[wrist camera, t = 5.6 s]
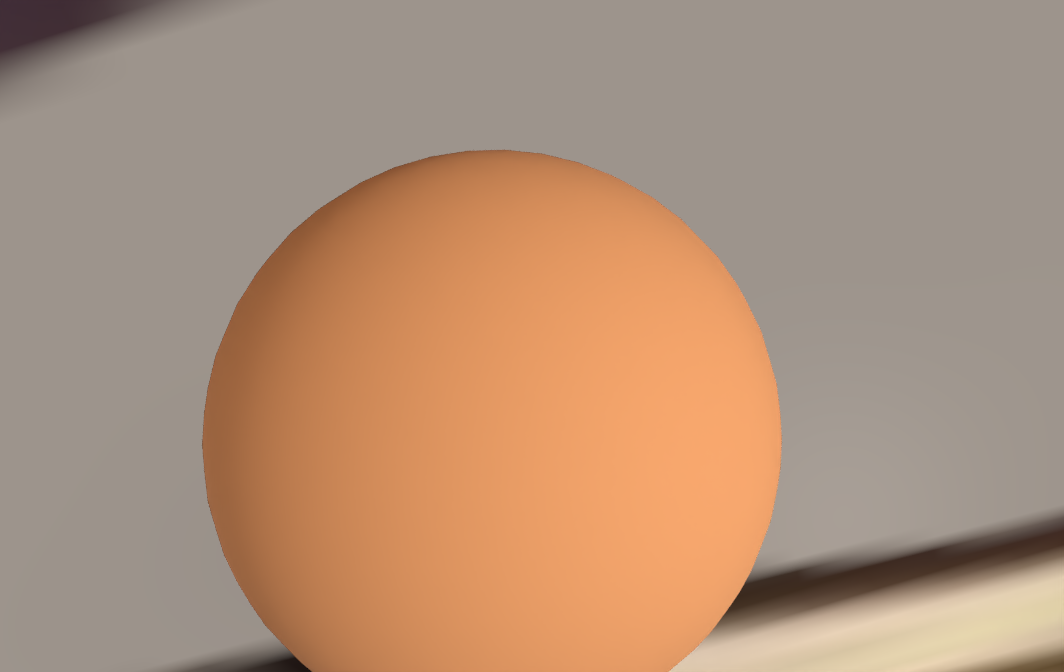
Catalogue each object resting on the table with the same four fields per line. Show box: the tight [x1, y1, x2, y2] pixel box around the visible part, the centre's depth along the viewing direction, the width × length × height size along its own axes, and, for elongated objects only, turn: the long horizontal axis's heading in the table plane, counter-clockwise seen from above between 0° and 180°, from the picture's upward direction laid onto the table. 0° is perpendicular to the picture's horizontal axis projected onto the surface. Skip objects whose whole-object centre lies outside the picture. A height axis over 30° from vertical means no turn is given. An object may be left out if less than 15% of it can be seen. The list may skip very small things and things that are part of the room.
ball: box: [202, 150, 782, 672], centre depth 8 cm, size 6×6×6 cm
